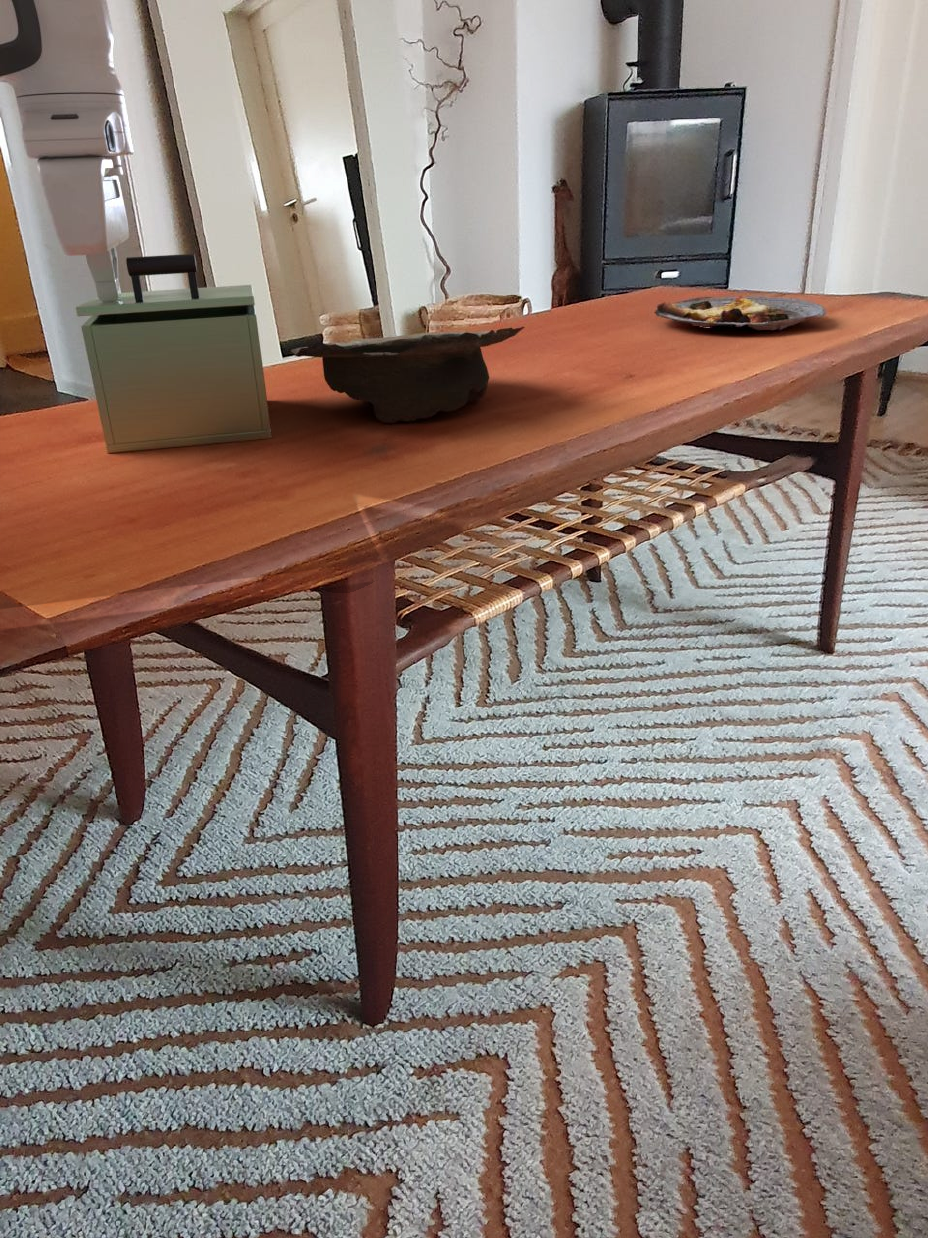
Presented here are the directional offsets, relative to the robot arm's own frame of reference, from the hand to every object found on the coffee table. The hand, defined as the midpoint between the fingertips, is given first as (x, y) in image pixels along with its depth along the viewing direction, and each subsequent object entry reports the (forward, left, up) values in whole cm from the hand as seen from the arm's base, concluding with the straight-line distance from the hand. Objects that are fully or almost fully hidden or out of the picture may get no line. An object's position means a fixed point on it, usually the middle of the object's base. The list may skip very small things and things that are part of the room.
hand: (110, 299), depth 88 cm
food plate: (+85, +39, -14) cm, 95 cm away
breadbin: (+5, +4, -13) cm, 15 cm away
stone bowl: (+28, +5, -14) cm, 32 cm away
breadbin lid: (+5, +4, -1) cm, 7 cm away
